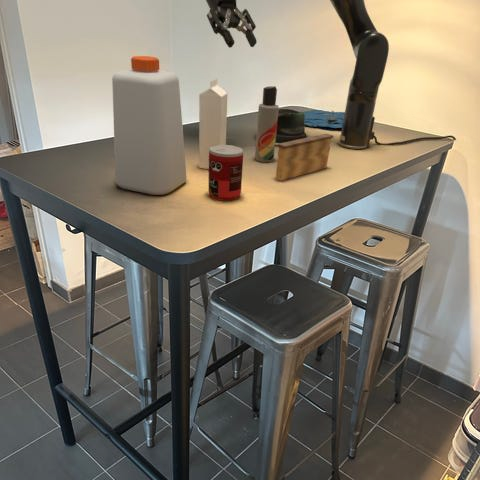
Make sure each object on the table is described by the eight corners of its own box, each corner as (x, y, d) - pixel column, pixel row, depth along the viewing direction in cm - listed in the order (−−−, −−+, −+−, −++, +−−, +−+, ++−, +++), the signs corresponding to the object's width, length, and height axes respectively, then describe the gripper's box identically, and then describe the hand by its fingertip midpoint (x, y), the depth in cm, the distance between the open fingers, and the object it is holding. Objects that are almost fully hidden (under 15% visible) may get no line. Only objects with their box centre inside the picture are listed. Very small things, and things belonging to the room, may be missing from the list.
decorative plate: (311, 136, 169) (313, 121, 166) (277, 116, 192) (278, 102, 188) (378, 129, 178) (381, 115, 175) (338, 111, 200) (340, 98, 197)
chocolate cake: (279, 126, 170) (326, 138, 161) (250, 159, 165) (296, 174, 156) (272, 89, 158) (322, 100, 148) (240, 123, 152) (290, 138, 143)
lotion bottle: (272, 163, 136) (279, 88, 124) (253, 161, 136) (258, 86, 125) (274, 158, 140) (281, 85, 129) (256, 155, 141) (262, 83, 129)
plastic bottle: (109, 187, 112) (94, 57, 96) (141, 170, 124) (133, 51, 107) (164, 199, 108) (158, 64, 92) (192, 180, 120) (191, 58, 104)
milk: (199, 168, 129) (198, 80, 116) (205, 162, 133) (205, 77, 120) (219, 170, 127) (221, 82, 115) (225, 164, 132) (228, 79, 119)
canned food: (207, 189, 115) (208, 144, 109) (239, 190, 116) (242, 145, 110) (208, 200, 109) (209, 153, 103) (242, 201, 110) (244, 154, 103)
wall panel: (321, 165, 136) (326, 133, 131) (328, 168, 135) (333, 135, 130) (273, 178, 125) (277, 143, 119) (280, 181, 123) (284, 146, 118)
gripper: (204, -21, 121) (231, 35, 121) (243, -17, 129) (268, 35, 129) (191, 2, 127) (217, 55, 127) (229, 4, 135) (254, 54, 135)
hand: (243, 45), depth 128 cm, fingers open, 8 cm apart
